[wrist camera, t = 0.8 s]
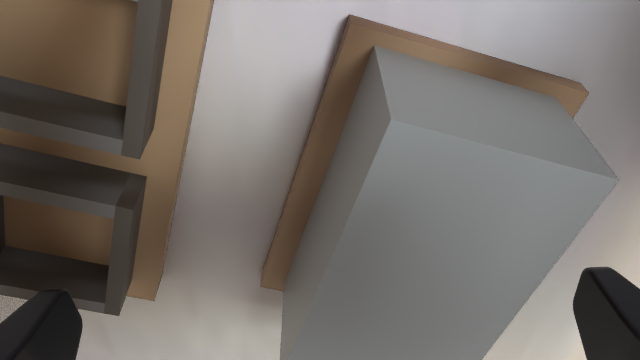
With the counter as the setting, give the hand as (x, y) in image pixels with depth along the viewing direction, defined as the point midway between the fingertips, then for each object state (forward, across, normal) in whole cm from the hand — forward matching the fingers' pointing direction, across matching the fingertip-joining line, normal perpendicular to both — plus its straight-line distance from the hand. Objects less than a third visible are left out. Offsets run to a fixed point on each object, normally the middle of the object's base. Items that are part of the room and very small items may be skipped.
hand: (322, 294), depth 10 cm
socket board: (+12, +9, +2) cm, 15 cm away
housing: (+11, -3, +7) cm, 13 cm away
